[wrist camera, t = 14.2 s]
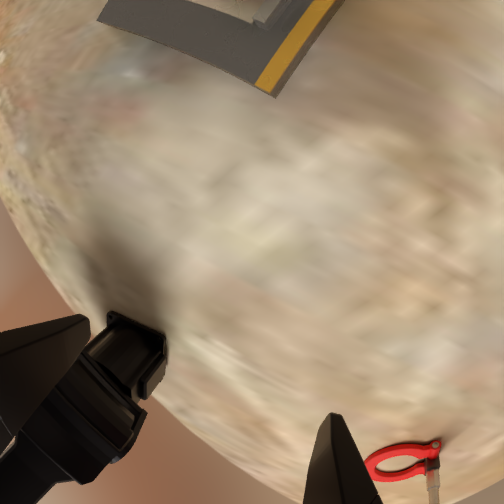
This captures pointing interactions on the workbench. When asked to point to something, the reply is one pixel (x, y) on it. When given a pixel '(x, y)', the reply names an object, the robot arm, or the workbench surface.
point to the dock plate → (230, 32)
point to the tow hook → (427, 468)
